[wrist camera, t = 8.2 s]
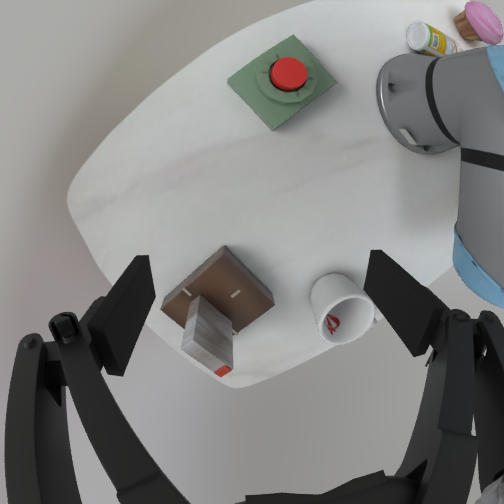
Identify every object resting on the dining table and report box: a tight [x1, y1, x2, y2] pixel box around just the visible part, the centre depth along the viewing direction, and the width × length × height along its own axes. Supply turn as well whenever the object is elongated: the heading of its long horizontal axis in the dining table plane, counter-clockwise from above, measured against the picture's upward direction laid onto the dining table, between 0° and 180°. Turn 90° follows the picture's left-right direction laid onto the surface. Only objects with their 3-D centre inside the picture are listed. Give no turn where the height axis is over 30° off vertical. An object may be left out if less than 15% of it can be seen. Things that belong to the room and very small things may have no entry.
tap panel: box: [160, 246, 275, 336], centre depth 36 cm, size 12×10×3 cm
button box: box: [228, 35, 337, 130], centre depth 26 cm, size 10×8×4 cm
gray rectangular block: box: [181, 295, 233, 377], centre depth 31 cm, size 6×2×9 cm, turn 41°
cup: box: [310, 274, 377, 345], centre depth 36 cm, size 11×8×8 cm
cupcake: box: [454, 1, 503, 45], centre depth 18 cm, size 9×9×10 cm
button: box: [271, 57, 307, 91], centre depth 24 cm, size 4×4×2 cm
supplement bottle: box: [407, 21, 464, 57], centre depth 23 cm, size 5×5×10 cm
